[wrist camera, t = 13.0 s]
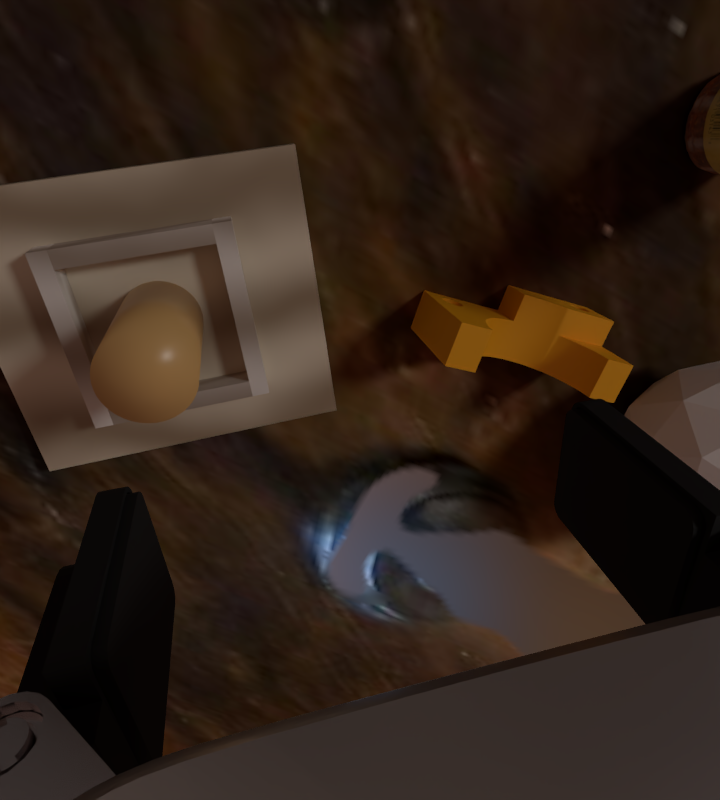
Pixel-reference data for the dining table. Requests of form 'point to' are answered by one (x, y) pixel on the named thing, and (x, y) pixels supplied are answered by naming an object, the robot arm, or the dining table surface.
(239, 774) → the robot arm
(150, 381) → the tan rounded oblong piece
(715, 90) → the sauce bottle
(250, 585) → the dining table surface
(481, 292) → the dining table surface
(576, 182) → the dining table surface
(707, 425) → the geodesic sphere
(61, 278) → the grey square framed plate
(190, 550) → the dining table surface
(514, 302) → the orange blocky piece
